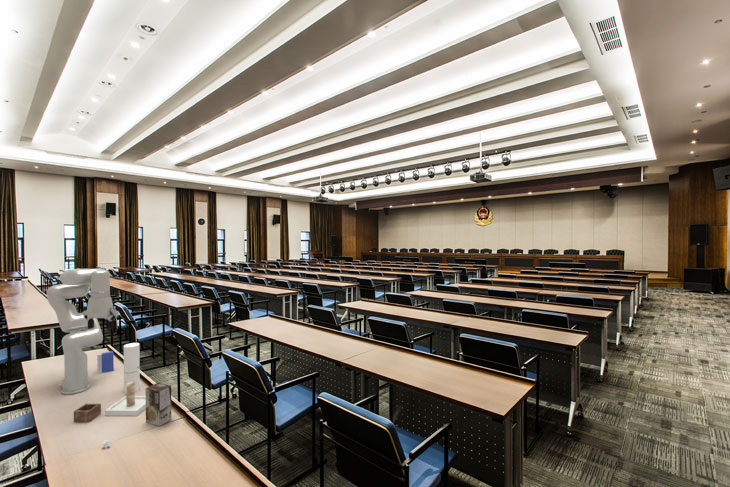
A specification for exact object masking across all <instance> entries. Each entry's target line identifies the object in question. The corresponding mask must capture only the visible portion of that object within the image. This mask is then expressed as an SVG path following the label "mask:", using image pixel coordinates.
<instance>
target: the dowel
mask: <svg viewBox="0 0 730 487" xmlns="http://www.w3.org/2000/svg"><path fill="white" fill-rule="evenodd" d="M126 396H127V407H131V406H134V405H135V396H136V391H135V382H129V383H127V393H126Z"/></svg>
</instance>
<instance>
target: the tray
mask: <svg viewBox="0 0 730 487" xmlns="http://www.w3.org/2000/svg"><path fill="white" fill-rule="evenodd" d="M144 411H146V397H145V395H135V405H134V406H131V407H127V395H125V396H123V397H121V398H120V399H119V400H117V401H116V402H115V403H113V404H112V405H111V406H109V407H108V408H106V409H105V410H104V416H107V417H108V416H109V417H111V416H112V417H113V416H114V417H115V416H116V417H117V416H118V417H120V416H122V417H138V416H139V415H140V414H141V413H142V412H144Z"/></svg>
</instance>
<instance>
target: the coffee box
mask: <svg viewBox="0 0 730 487" xmlns="http://www.w3.org/2000/svg"><path fill="white" fill-rule="evenodd" d="M144 390H145V391H144V392H145V393H144V396H145V397H146V409H145V423H147V424H151V425H154V426H159V427H160V426H163V425H164V424H166V423H167V422H170V421H171V420H172V385H170V384H165V383H160V382H156V383H154V384H152V385H150V386H148V387H146V388H145V389H144Z"/></svg>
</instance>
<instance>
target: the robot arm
mask: <svg viewBox="0 0 730 487" xmlns="http://www.w3.org/2000/svg"><path fill="white" fill-rule="evenodd" d="M110 276H111V275H110V271H109V270H107V269H105V268H99V267H98V268H73V269H67V270H65V271H63V272H62V273H60V275H59V281H60V282H61V283H60V284H55V285H52V286H50V287H48V289H47V291H46V298H47V303H48V304H49V305H50V306H51V308H52V309H53V311H54V312H55V314H56V318H57V321H58V323H59V327H60V329H61V331H62V332H64V333H67V334H66V335H64V336H63V337H62V339H61V346H62V350H63V357H64V358H63V359H64V362H63V364H64V380H61V381H60V382H59V384H58V387H62V389H61V390H60V393H61V394H62V395H75V394H79V393H82V392H84V391H85V392H86V391H87V390H89V389H90V388H91V387H92V383H91V382H88V378H89V377H88V372H89V371H88V354H87V353H86V352H85V351H83V349H85V348H89V347H93V346H97V345H99V344H102V341H103V340H104V336H103V331H102V328H101V326H100V323H99V319H106V320H108V321H107V330H111V329H113V328H114V326H115V325H114V324H115V323H114V321H115V319H116V318H118V316H119V314H120V312H119V311H118V310H116V309H114V306H113V305H114V304H113V299H112V297H111V288H110V287H111V286H110V284H111V282H110V280H111V278H110ZM87 295H89V296H90V297H89V298H88V302H87V305H86V306H87V307H86V308H87V309H86V310H84V311H82V312H78V310H77V308H76V305H74V304H73V303H72V302H70V301H68V300H67V299H75V298H76V299H77V298H83V297H85V296H87Z"/></svg>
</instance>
